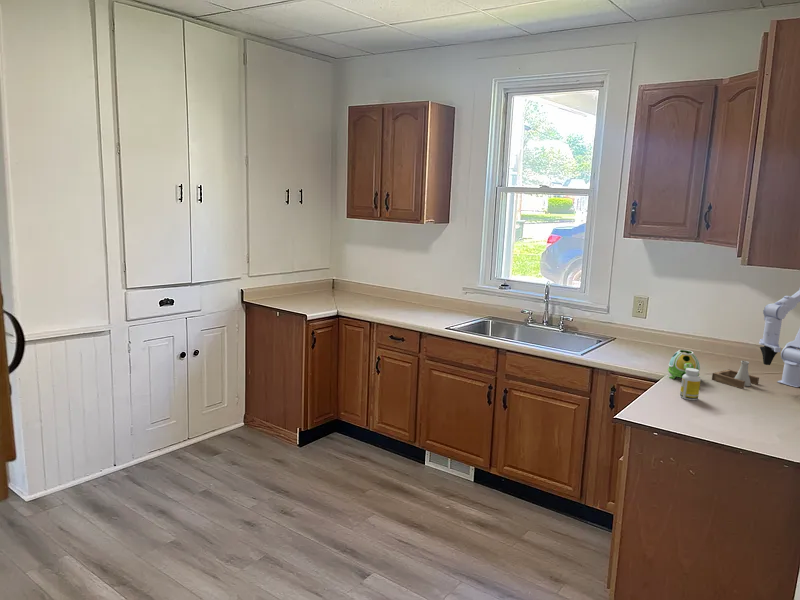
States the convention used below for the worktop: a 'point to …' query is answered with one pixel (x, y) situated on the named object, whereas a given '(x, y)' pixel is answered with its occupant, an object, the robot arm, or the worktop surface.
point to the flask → (744, 373)
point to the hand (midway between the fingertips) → (766, 364)
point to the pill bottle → (690, 384)
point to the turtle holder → (682, 363)
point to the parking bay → (732, 378)
